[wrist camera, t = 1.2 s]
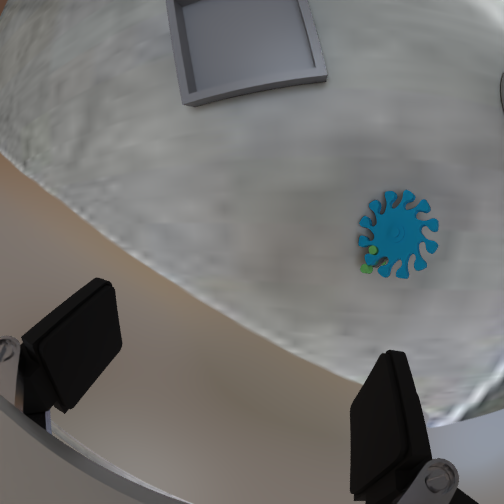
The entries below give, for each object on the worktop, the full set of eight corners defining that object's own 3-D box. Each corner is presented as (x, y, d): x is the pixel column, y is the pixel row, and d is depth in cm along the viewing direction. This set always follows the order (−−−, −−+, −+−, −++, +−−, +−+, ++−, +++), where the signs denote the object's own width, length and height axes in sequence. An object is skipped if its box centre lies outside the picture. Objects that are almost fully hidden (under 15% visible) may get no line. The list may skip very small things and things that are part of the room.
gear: (397, 169, 28) (455, 236, 23) (413, 185, 32) (462, 244, 27) (335, 234, 34) (378, 303, 29) (357, 241, 38) (396, 301, 33)
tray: (296, -24, 22) (294, -37, 19) (326, 81, 28) (327, 75, 24) (177, 6, 26) (165, -3, 23) (194, 107, 32) (182, 104, 28)
